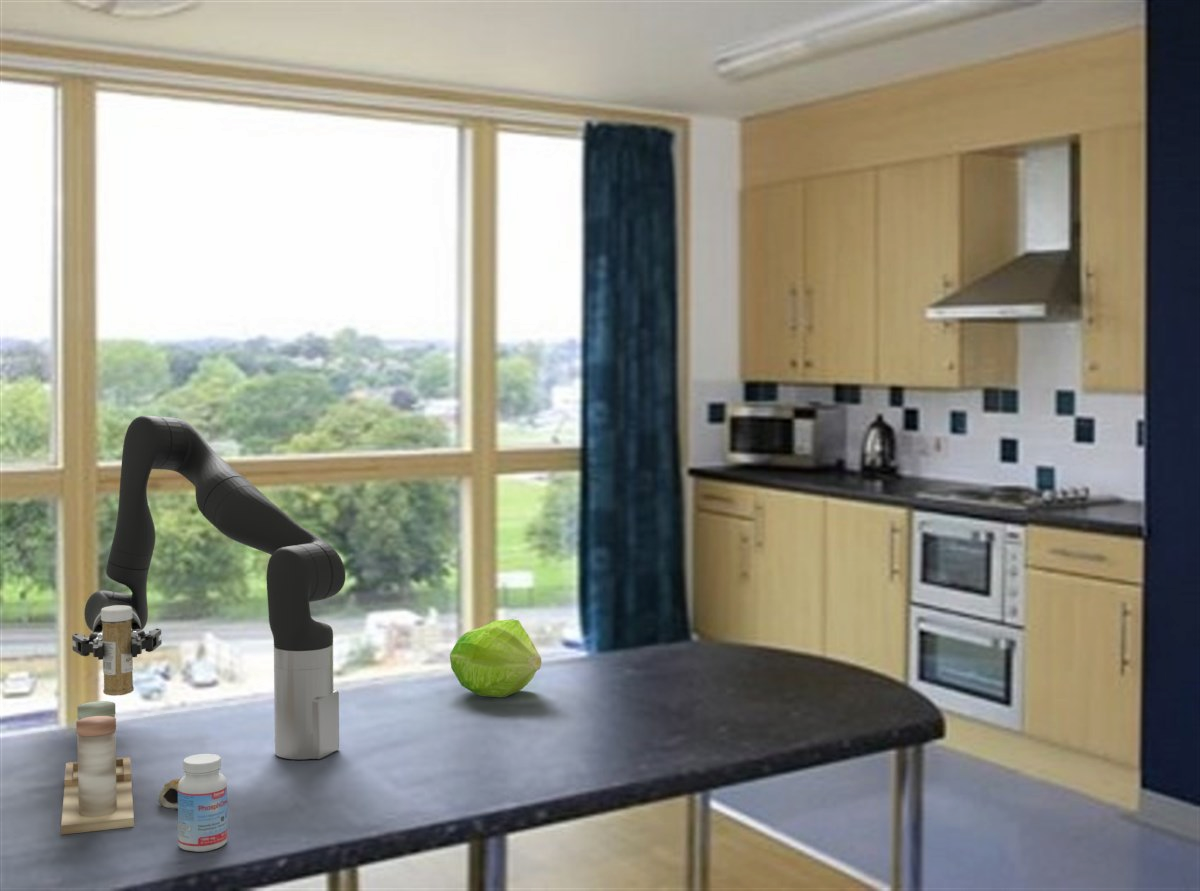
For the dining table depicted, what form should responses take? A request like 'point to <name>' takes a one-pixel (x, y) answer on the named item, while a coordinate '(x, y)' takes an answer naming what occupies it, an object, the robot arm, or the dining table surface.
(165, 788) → the pastry
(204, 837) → the pill bottle
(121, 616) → the spice jar
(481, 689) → the lettuce
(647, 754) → the dining table surface
